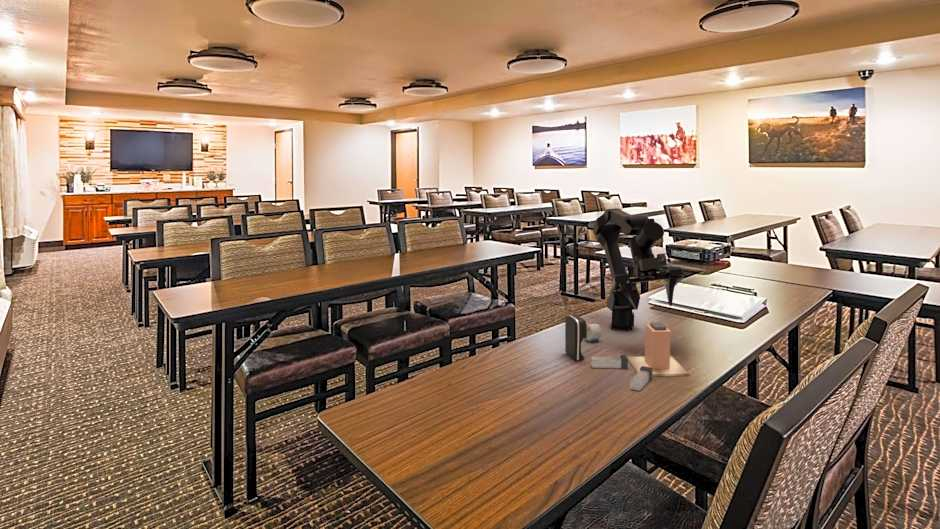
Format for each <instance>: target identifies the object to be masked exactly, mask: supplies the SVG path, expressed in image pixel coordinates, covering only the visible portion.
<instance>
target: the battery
mask: <svg viewBox="0 0 940 529" xmlns="http://www.w3.org/2000/svg"><path fill="white" fill-rule="evenodd" d="M564 320H565V322H564V324H565V326H564V327H565V328H564V329H565V330H564V331H565V332H564V334H565V336H564V337H565V338H564V339H565V343H564V344H565V347H564V349H565V351H564V352H565V354H566V355H568V356H569V357H570V358H571V359H573V360H574V361H582V360H584V359H585V356H584V355H583V353H582V342H583V341H584V339H586V338H587V325H588V324H587V321H586V320H585V319H584V318H582V317H581V316H579V315H578V314H572V315H571V314H569V315H566V316H565V319H564Z"/></svg>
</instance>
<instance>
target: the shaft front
mask: <svg viewBox="0 0 940 529" xmlns="http://www.w3.org/2000/svg"><path fill="white" fill-rule="evenodd" d="M652 374H653V368H650V367H645V366H642V367H641V368H640V371H639V372H638V373H637V372H636V374H635V375H634V376H633V377H632V378H630V380H629V381H630V383H629V384H630V385H629V389H630V390H634V391H638V392H640V391H641V390H642V389H643V388H644V387H645V385H646V384H648V382H649V381H652V379H653V376H652Z"/></svg>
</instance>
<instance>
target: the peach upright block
mask: <svg viewBox="0 0 940 529" xmlns="http://www.w3.org/2000/svg"><path fill="white" fill-rule="evenodd" d="M644 340H645V341H644V357H645V362H646V363H647V364H648V366H649V367H650V368H653V369H669V365H670V356H671V342H672V341H671V340H672V331H671V330H670V329H669V328H668V327H667V326H666V325H665V324H664V323H663V322H650V323H649V324H645V338H644Z"/></svg>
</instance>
